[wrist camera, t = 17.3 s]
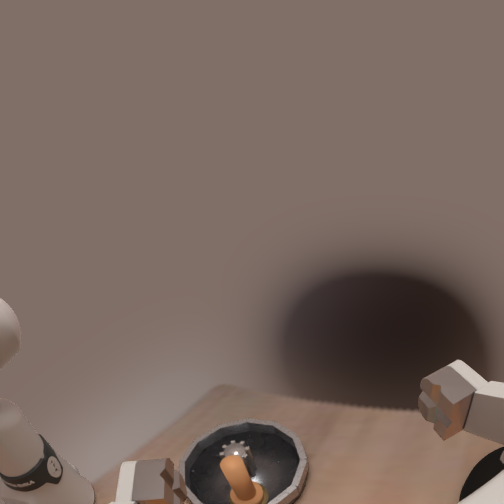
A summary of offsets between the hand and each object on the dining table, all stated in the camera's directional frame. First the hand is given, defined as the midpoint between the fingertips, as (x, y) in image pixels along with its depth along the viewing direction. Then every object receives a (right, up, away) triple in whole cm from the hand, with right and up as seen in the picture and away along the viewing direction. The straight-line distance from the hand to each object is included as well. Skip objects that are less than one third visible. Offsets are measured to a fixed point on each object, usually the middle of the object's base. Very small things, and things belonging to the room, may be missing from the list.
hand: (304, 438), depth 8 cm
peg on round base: (-2, -31, +29) cm, 42 cm away
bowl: (-3, -31, +35) cm, 47 cm away
